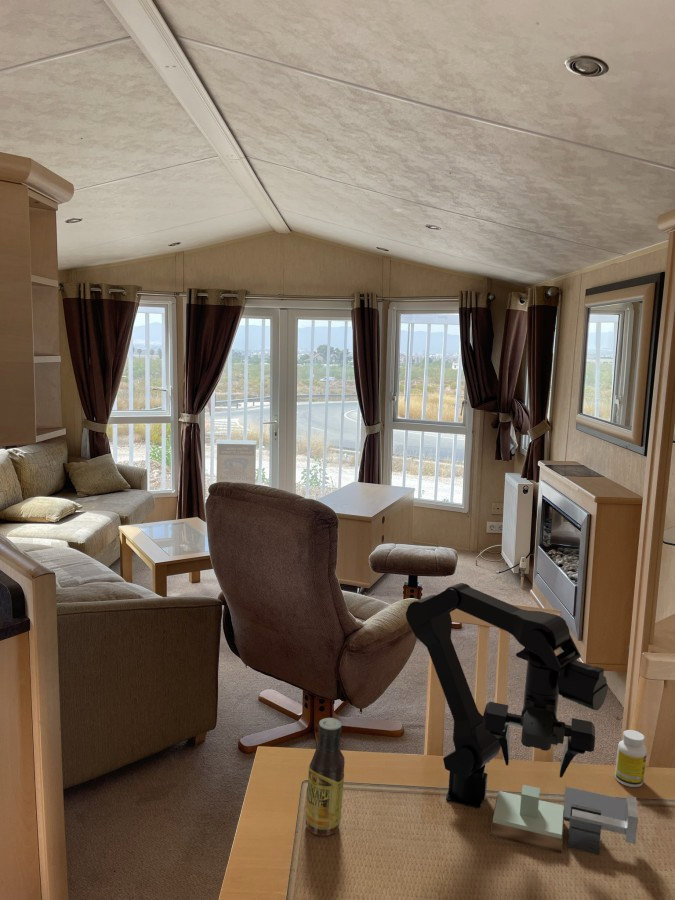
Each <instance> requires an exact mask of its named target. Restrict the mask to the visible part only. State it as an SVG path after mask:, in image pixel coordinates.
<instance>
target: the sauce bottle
mask: <svg viewBox="0 0 675 900" xmlns="http://www.w3.org/2000/svg"><path fill="white" fill-rule="evenodd" d="M317 731H318V742H317V746H316V748H315V751H314V754H313V756H312V759H311V761H310V763H309V765H308V766H309V767H308V777H307V789H306V790H307V791H306V805H305V815H304V816H305V825H306V829H307V830H308V831H309V832H310V833H311V834H313V835H316V836H319V837H320V836H321V837H327V836H331V835H333V834H335V833H337V831H339V827H340V824H341V818H342V807H343V806H342V805H343V795H344V794H343V792H344V782H345V781H344V780H345V763H346V762H345V761H346V760H345V755H344V754H343V752H342V751H341V743H340V741H341V734H342V731H343V724H342V722H341V721H340V720H339V719H336V718H334V717H325V718H322V719H320V720H319V722H318V728H317Z"/></svg>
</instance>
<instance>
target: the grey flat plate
mask: <svg viewBox="0 0 675 900" xmlns="http://www.w3.org/2000/svg"><path fill="white" fill-rule="evenodd" d="M564 787H565V790H564V804H563V806H564V809H565V810H564V820H566V821H567V820H569V821H570V812H571V804H575V805H579V806H584V807H588V808H592V809H597V810H601V816H605V817H610V818H614V819H618V820H623V821H624V818H625V808H626V799H623V798H619V797H614V796H610V795H606V794H600V793H597V792H592V791H587V790H583V789H578V788H575V787H570V786H564Z"/></svg>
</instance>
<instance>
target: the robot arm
mask: <svg viewBox="0 0 675 900" xmlns="http://www.w3.org/2000/svg"><path fill="white" fill-rule="evenodd" d="M455 610H458V611H461V612H463V613H466V614H468V615H470V616H472V617H474V618H477V619H479V620H481V621H483V622H485V623H487V624H489V625H492V626H494V627H496V628H498V629H500V630H503V631H505V632H507V633H508V634H510V635H512V636H513V637H514V638H515V640H516V641H517V642H518V643H519V645H521V646H522V647H524V648H523V649H521V650H520V651H518V652H516V654H515V656H516V657H517V658H519V659H522V660H524V661H526V663H527V664H526V673H525V683H524V684H525V685H524V694H523V704H522V710H521V714H515V713H512V712H511V713H510V712H509V705H508V704H505V703H500V702H499V703H498V702H494V701H489V702H488V703H486V704H485V708H484V712H483V714H481V713H480V711H479V710H478V707H477V704H476V702H475V699H474V697H473V694H472V692H471V691H472V690H471V689H470V686H469V683H468V680H467V678H466V676H465V672H464V669H463V668H462V665H461V662H460V660H459V656H458V655H457V651H456V649H455V647H454V644H453V641H452V625H453V621H452V620H453V619H452V616H451V612H453V611H455ZM405 618H406V621H407V624H408V625H409V627H410V629H411V631H412V634H413V635H414V637H415V638H416V639H417V640H419V642H421V643H422V644H423V646H425V647H426V649H427V651H428V654H429V657H430V660H431V662H432V664H433V667H434V670H435V673H436V676H437V678H438V681H439V684H440V687H441V689H442V692H443V695H444V698H445V700H446V703H447V706H448V708H449V711H450V714H451V716H452V720H453V733H452V742H453V747H454V750H453V751H452V752H450V753H449V754H447V755H446V756H444V757H442V758H443V759H442V760H443V765H444V769H445V770H446V771H449V775H448V776H449V777H448V788H447V789H448V791H447V793H446V797H445V800H446V801H448V802H451V803H453V804H454V803H456V804H459V805H464V806H467V807H472V808H475V809H480V808H481V807H482V803H483V802H484V801H485V799H486V797H487V788H488V778H489V777H488V775H489V774H488V773H487V772H486V765H487V764H488V763H490V762H491V761H492V760H493V759H494V758H496V757H497V756H498V755H499V754H500V753H499V752H500V750H501V752H502V755H503V759H504V763H505V766H509V763H510V726H513V727H518V728H521V741H520V742H521V744H522V746H524V747H527V748H535V749H540V750H541V751H549V750H550V749H551V748H552V745H553V746H558V744H561V745H563V744H564V740H565V738H566V740H565V744H564V748H563V752H562V753H563V754H562V757H561V761H560V765H559V766H560V768H559V778H563V777H564V774H565V772H566V771H567V769H568V767H569V765H570V763H572V760H573V759H574V758H575V757H576V756H577V755H579V754H581V755H584V754H585V753H586V752H590V753H592V752H594V751H595V744H596V726H595V724H594V723H593V722H592V721H589V720H584V719H580V718H574V717H572V718H571V720H570V721H571V722H570V725H569V724H566V722H564V721H559V719H558V718H557V717H558V716H557V715H558V714H557V713H558V705H559V696H562V698H563V699H566V700H568V701H570V702H573V703H576V704H578V705H581V706H583V707H586V708H588V709H591V710H594V711H599V710H600V709H601V708H602V706H603V705H604V703H605V700H606V698H607V694H608V690H609V689H608V688H609V685H608V681H607V678H606V676H605V674H604V673H605V669H604V668H603V667H600V666H596V665H591V664H588V663H584V662H582V661H579V659H580V658H581V657H582V655H581V654H580V652H579V651H580V650H579V649H578V648H577V645H576V643H575V642H574V639H573V638H572V636H571V631H570V628H569V625H568V624H567V621H566V620H565V619H564V618H563V617H561V616H560V615H558V614H554V613H549V612H545V611H539V610H527V609H524V608H523V609H522V608H520V607H518V606H515V605H513V604H510V603H508V602H505V601H503V600H501V599H499V598H496V597H494V596H492V595H489V594H487V593H485V592H482V591H481V590H480V591H479V590H478V589H475V588H473V587H471V585H469V584H467V583H463V582H460V583H457V584H454V585H451V586H448V587H447V588H445V590H443V591H442V592H440V593H438V594H430V595H428V596H425V597H423V598H420V599H418V600H415V601H413V602H411V603H410V604H409V605H408V606H407V608H406V611H405ZM560 649H561V650H562V652H560V653H558V654H557V655H556V653H555V652H556V651H558V650H560Z"/></svg>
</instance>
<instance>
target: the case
mask: <svg viewBox="0 0 675 900" xmlns="http://www.w3.org/2000/svg"><path fill="white" fill-rule="evenodd" d="M497 797H498V794H496V800H495V805H494V809H493V814H492V818H491V823H490V824H491V825H490V826H491V827H490V837H494V838H498V839H502V840H506V841H509V842H510V841H511V842H514V843H518V844H523V845H525V846H531V847H534V848H538V849H542V850H547V851H551V852H555V853H557V854H562V851H563V841H564V825H565V819H564V810H565V809H564V810H563V826H562V839H559V838H555V837H551V836H547V835H543V834H539V833H535V832H531V831H526V830H522V829H518V828H514V827H510V826H506V825H502V824H498V823H493V816H494V812H495V807H496V802H497Z"/></svg>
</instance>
